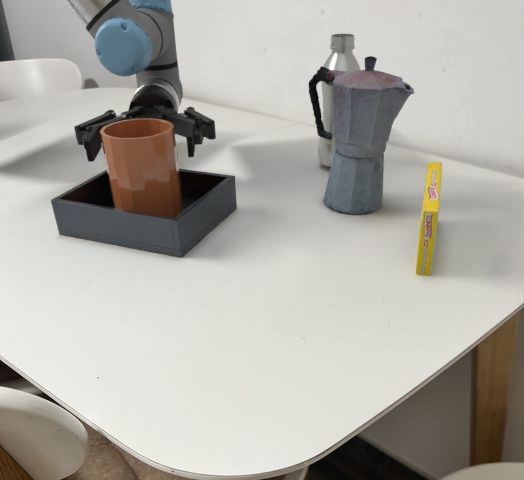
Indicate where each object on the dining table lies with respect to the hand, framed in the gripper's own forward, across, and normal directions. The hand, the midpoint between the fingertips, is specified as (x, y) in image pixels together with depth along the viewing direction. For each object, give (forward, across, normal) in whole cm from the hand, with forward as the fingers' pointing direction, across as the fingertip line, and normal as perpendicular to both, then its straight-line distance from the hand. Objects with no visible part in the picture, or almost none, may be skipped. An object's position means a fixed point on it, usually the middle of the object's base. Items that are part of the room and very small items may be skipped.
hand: (139, 149), depth 77 cm
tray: (+1, 0, -10) cm, 10 cm away
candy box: (+12, -37, -10) cm, 40 cm away
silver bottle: (-19, -30, -10) cm, 37 cm away
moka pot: (-2, -30, -10) cm, 31 cm away
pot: (+1, 0, -9) cm, 9 cm away
